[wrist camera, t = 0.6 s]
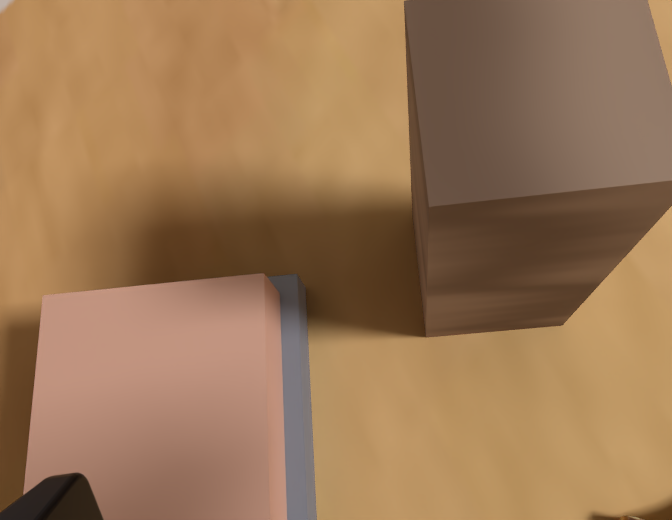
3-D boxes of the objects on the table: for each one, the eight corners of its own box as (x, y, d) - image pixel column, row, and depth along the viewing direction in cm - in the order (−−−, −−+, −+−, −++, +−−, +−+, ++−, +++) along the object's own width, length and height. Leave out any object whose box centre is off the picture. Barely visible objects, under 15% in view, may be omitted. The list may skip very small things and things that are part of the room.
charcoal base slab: (308, 292, 23) (297, 273, 21) (319, 528, 20) (308, 534, 18) (100, 312, 24) (69, 296, 22) (85, 542, 21) (48, 549, 19)
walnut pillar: (539, 201, 22) (638, -33, 12) (562, 325, 21) (697, 178, 11) (412, 215, 23) (404, 0, 13) (425, 337, 21) (428, 207, 11)
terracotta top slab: (279, 293, 21) (263, 273, 19) (287, 522, 19) (269, 527, 16) (79, 312, 22) (42, 295, 20) (61, 535, 19) (18, 541, 17)
